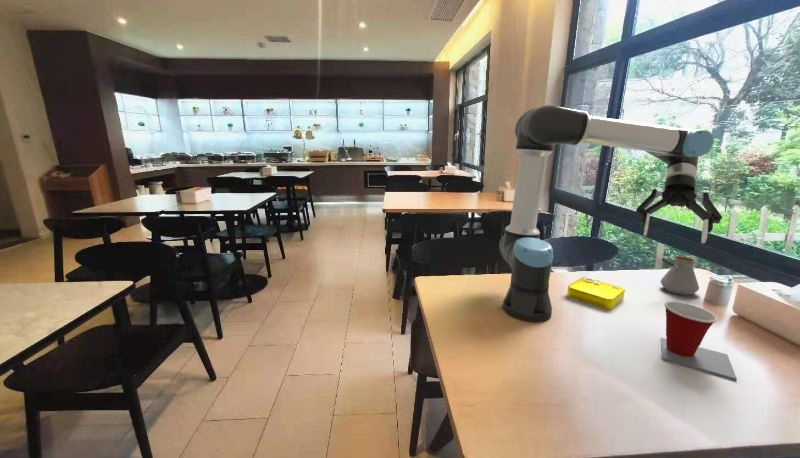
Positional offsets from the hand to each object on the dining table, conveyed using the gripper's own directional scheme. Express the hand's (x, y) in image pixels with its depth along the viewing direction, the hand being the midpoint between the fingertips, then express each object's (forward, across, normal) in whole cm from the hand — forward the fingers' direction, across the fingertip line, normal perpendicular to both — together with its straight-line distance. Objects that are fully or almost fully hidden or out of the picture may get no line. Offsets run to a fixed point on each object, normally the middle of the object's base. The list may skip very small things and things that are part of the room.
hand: (673, 236), depth 102 cm
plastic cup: (+30, -5, -8) cm, 32 cm away
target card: (+31, -8, -8) cm, 33 cm away
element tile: (+13, +18, -27) cm, 35 cm away
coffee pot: (-2, -5, -42) cm, 42 cm away
